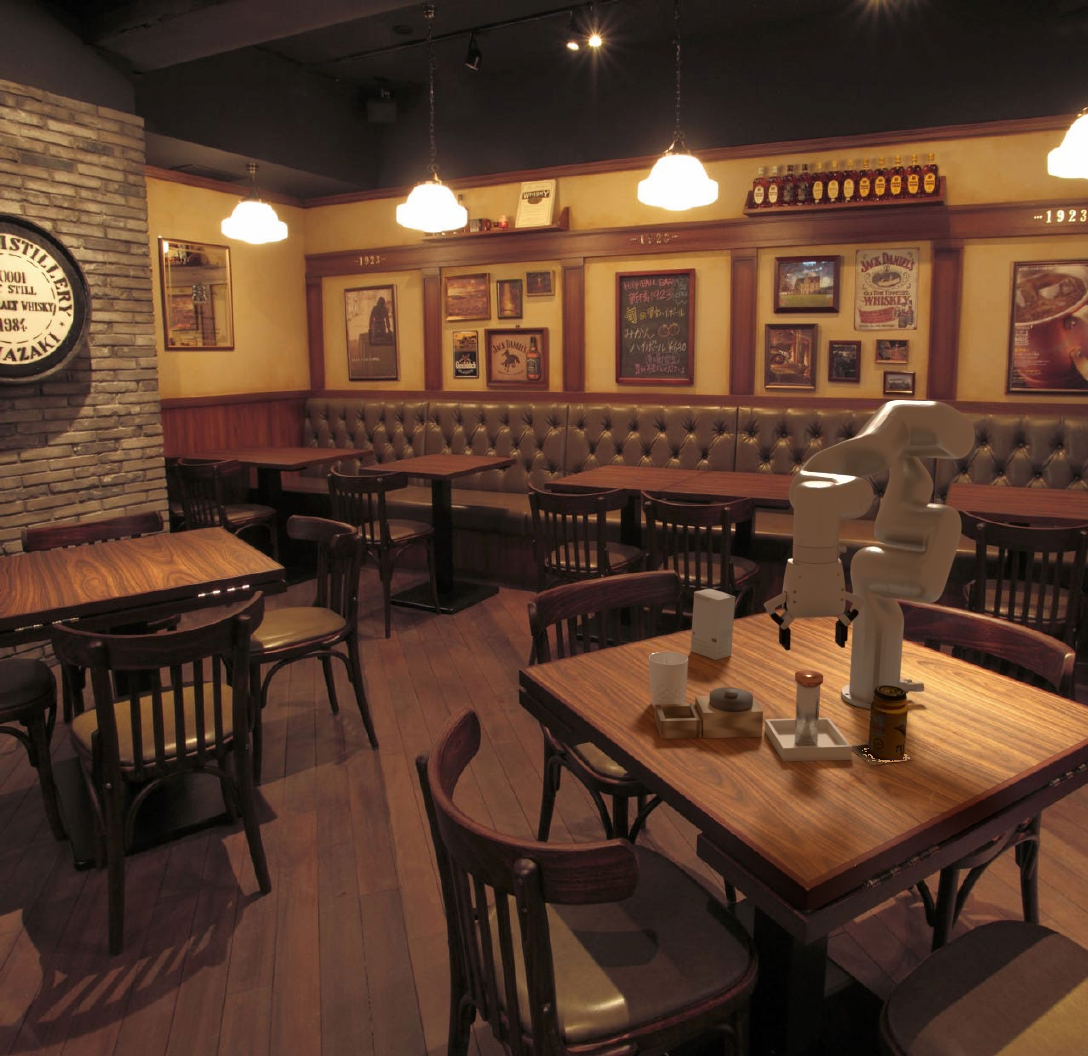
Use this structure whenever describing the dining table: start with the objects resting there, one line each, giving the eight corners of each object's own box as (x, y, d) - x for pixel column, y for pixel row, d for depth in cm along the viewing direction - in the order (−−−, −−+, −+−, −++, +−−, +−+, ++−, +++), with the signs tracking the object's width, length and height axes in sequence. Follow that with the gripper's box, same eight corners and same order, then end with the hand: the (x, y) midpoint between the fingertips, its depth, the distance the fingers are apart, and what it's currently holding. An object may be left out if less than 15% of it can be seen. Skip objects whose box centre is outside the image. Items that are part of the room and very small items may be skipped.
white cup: (686, 713, 172) (687, 665, 170) (646, 710, 173) (647, 663, 171) (688, 698, 179) (689, 652, 177) (650, 695, 181) (650, 650, 179)
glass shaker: (815, 737, 159) (818, 670, 156) (823, 749, 154) (826, 679, 152) (789, 737, 159) (791, 670, 156) (796, 749, 154) (799, 680, 152)
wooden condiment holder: (751, 718, 169) (752, 682, 167) (762, 736, 161) (763, 699, 160) (654, 721, 169) (655, 685, 167) (661, 739, 161) (661, 701, 159)
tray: (828, 730, 163) (828, 717, 163) (851, 759, 151) (852, 746, 151) (764, 731, 163) (765, 719, 162) (782, 761, 151) (783, 748, 151)
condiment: (915, 760, 151) (920, 695, 148) (871, 766, 149) (875, 700, 147) (889, 742, 158) (894, 680, 155) (848, 748, 156) (851, 685, 154)
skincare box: (690, 651, 207) (691, 591, 204) (707, 646, 210) (708, 587, 207) (716, 661, 200) (718, 599, 197) (734, 655, 204) (735, 594, 201)
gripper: (857, 545, 154) (853, 636, 158) (759, 550, 154) (758, 641, 158) (873, 556, 146) (869, 651, 150) (771, 561, 146) (769, 656, 150)
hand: (812, 646), depth 154 cm, fingers open, 9 cm apart
